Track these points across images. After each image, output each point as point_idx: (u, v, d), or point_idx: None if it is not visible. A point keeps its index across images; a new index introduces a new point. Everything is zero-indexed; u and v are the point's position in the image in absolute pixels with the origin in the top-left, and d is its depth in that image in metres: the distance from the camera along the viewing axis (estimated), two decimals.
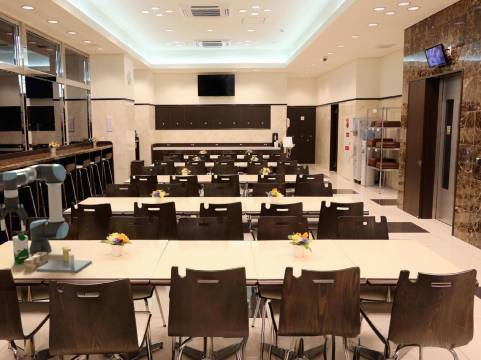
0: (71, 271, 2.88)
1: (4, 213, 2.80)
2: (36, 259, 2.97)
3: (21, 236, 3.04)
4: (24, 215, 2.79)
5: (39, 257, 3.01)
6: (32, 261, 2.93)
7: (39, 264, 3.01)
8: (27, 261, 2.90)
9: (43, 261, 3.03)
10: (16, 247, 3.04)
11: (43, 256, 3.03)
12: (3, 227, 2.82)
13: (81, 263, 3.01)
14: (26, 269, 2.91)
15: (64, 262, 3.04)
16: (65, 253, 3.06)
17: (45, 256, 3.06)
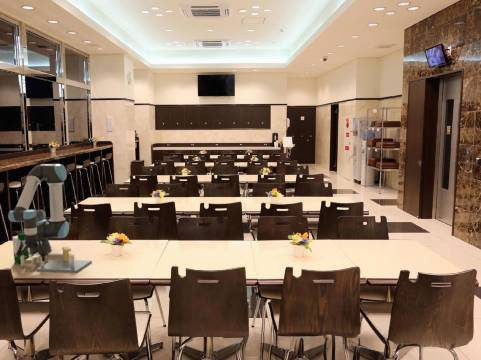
0: (71, 271, 2.88)
1: (24, 249, 2.95)
2: (36, 259, 2.97)
3: (21, 236, 3.04)
4: (43, 251, 2.93)
5: (39, 257, 3.01)
6: (32, 261, 2.93)
7: (39, 264, 3.01)
8: (27, 261, 2.90)
9: None
10: (16, 247, 3.04)
11: None
12: (23, 262, 2.97)
13: (81, 263, 3.01)
14: (26, 269, 2.91)
15: (64, 262, 3.04)
16: (65, 253, 3.06)
17: (45, 256, 3.06)
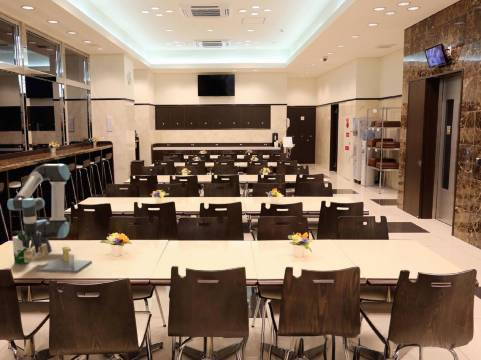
0: (71, 271, 2.88)
1: (27, 239, 2.94)
2: None
3: (21, 236, 3.04)
4: (38, 243, 2.93)
5: (39, 248, 3.00)
6: (32, 252, 2.92)
7: (39, 255, 3.00)
8: (27, 252, 2.90)
9: (43, 252, 3.03)
10: (16, 247, 3.04)
11: (43, 247, 3.03)
12: None
13: (81, 263, 3.01)
14: (26, 260, 2.91)
15: (64, 262, 3.04)
16: (65, 253, 3.06)
17: (45, 247, 3.05)
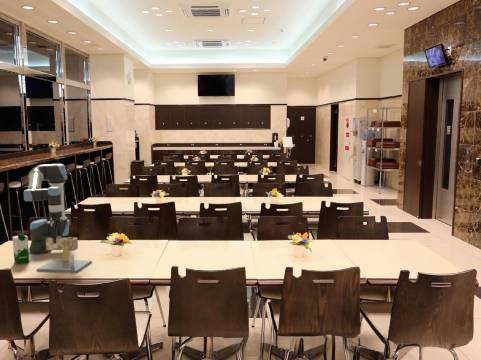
0: (71, 271, 2.88)
1: None
2: None
3: (21, 236, 3.04)
4: (50, 233, 2.84)
5: (62, 241, 2.88)
6: (50, 241, 2.88)
7: (62, 248, 2.89)
8: None
9: (65, 247, 2.87)
10: (16, 247, 3.04)
11: (65, 241, 2.87)
12: None
13: (81, 263, 3.01)
14: None
15: (64, 262, 3.04)
16: (65, 253, 3.06)
17: (69, 243, 2.87)
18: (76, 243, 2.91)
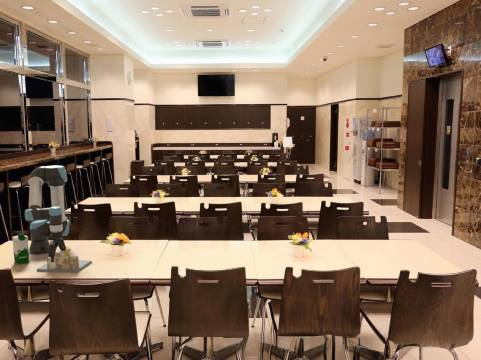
0: (71, 271, 2.88)
1: (58, 245, 2.95)
2: (58, 260, 2.90)
3: (21, 236, 3.04)
4: (49, 252, 2.82)
5: (63, 260, 2.90)
6: None
7: (63, 267, 2.90)
8: None
9: (66, 265, 2.89)
10: (16, 247, 3.04)
11: (66, 260, 2.88)
12: None
13: (81, 263, 3.01)
14: None
15: None
16: (65, 253, 3.06)
17: (70, 261, 2.88)
18: (77, 261, 2.93)
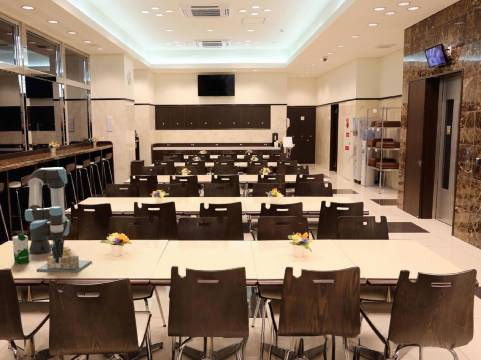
0: (71, 271, 2.88)
1: None
2: None
3: (21, 236, 3.04)
4: (53, 254, 2.83)
5: (63, 259, 2.90)
6: (51, 259, 2.90)
7: (63, 266, 2.90)
8: None
9: (66, 265, 2.89)
10: (16, 247, 3.04)
11: (67, 260, 2.89)
12: None
13: (81, 263, 3.01)
14: None
15: None
16: (65, 253, 3.06)
17: (70, 261, 2.89)
18: (77, 261, 2.93)
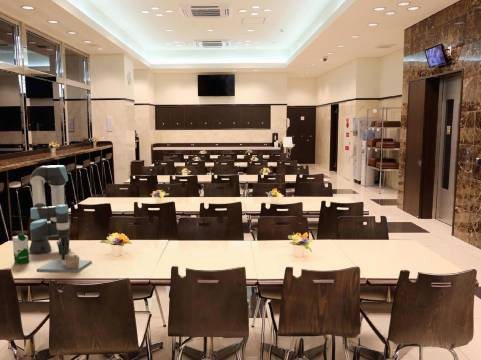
0: (71, 271, 2.88)
1: None
2: None
3: (21, 236, 3.04)
4: (59, 251, 2.90)
5: None
6: None
7: None
8: None
9: (66, 262, 2.93)
10: (16, 247, 3.04)
11: (67, 257, 2.92)
12: None
13: (81, 263, 3.01)
14: None
15: None
16: None
17: (67, 259, 2.90)
18: (75, 262, 2.91)
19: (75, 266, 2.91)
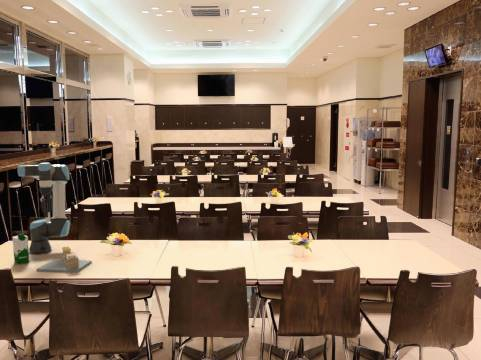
0: (71, 271, 2.88)
1: None
2: (65, 256, 2.98)
3: (21, 236, 3.04)
4: (42, 208, 2.94)
5: None
6: (64, 255, 3.01)
7: None
8: None
9: (66, 264, 2.92)
10: (16, 247, 3.04)
11: (66, 259, 2.92)
12: None
13: (81, 263, 3.01)
14: None
15: None
16: None
17: (67, 261, 2.90)
18: (75, 263, 2.90)
19: (75, 267, 2.91)
